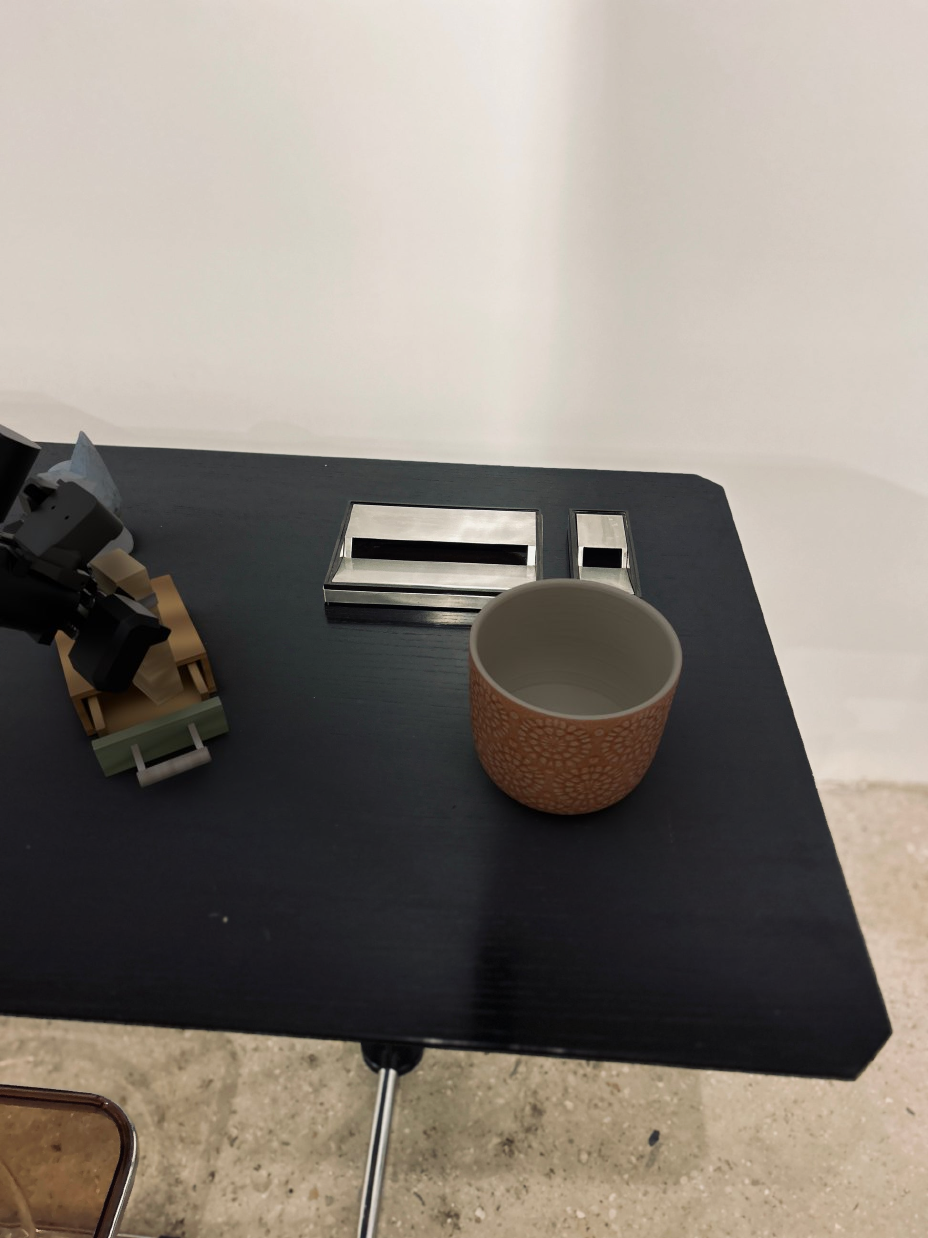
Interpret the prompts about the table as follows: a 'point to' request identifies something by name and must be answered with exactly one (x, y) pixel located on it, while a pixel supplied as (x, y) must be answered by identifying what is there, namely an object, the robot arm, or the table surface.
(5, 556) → the robot arm
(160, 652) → the block
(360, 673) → the table surface
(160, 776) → the drawer
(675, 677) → the planter
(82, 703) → the cabinet
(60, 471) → the figurine
